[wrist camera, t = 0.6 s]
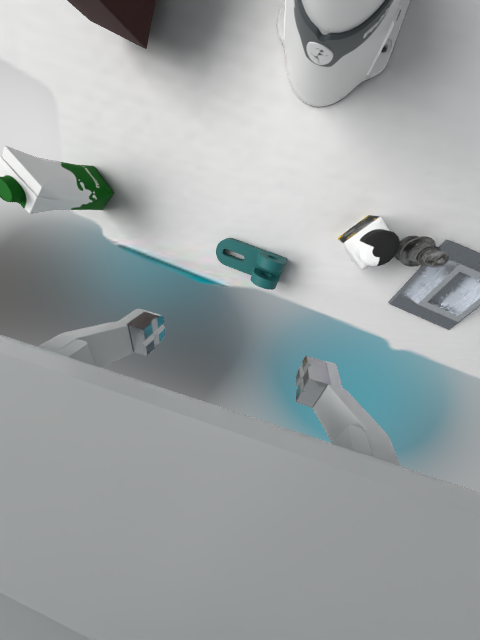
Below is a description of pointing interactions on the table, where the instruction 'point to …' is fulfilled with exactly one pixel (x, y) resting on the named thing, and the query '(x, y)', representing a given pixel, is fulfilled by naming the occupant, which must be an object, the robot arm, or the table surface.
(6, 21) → the table surface
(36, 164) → the milk carton
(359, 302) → the table surface
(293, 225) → the table surface
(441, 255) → the chess piece
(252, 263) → the bracket
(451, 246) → the plate
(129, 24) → the dark brown boxy piece
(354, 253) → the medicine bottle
